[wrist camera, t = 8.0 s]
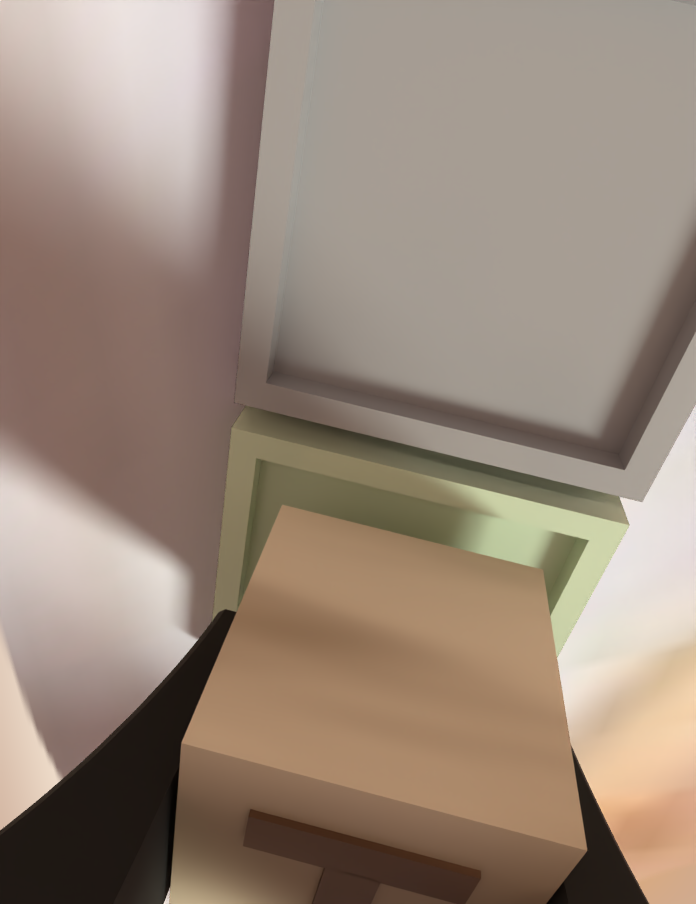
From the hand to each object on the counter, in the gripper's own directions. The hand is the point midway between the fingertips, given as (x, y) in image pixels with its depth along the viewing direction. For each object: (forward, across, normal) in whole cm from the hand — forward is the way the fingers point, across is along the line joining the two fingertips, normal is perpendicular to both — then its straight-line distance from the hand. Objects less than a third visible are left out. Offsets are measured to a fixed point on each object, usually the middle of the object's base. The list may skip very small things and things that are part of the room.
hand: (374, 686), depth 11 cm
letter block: (+1, 0, 0) cm, 1 cm away
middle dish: (+3, 0, -8) cm, 8 cm away
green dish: (+3, 0, 0) cm, 3 cm away
